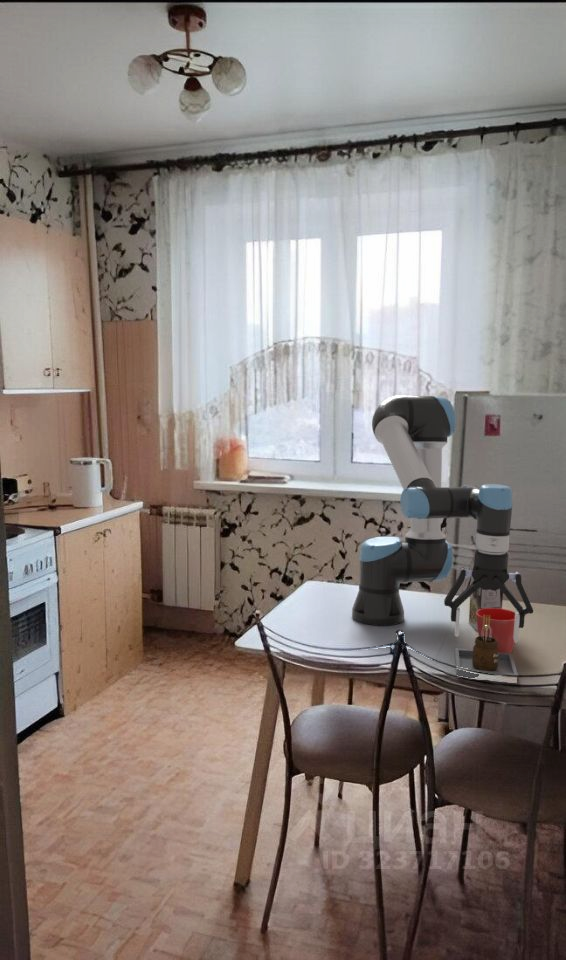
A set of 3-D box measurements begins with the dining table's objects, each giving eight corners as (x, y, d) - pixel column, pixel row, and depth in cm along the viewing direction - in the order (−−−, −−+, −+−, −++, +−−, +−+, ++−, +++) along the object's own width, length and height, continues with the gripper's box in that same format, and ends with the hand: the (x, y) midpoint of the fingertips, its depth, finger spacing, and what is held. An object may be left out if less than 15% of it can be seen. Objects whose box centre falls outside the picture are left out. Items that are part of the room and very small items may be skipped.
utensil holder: (472, 670, 164) (475, 621, 163) (471, 660, 170) (474, 613, 169) (498, 673, 163) (501, 624, 162) (496, 663, 169) (499, 615, 168)
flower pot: (470, 641, 186) (472, 606, 184) (513, 643, 185) (515, 608, 183) (477, 656, 175) (479, 619, 174) (522, 658, 174) (524, 621, 173)
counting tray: (456, 677, 162) (456, 669, 161) (454, 656, 175) (455, 648, 175) (517, 684, 159) (518, 675, 159) (511, 661, 172) (511, 653, 172)
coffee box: (501, 633, 192) (505, 576, 190) (478, 633, 192) (482, 576, 190) (489, 622, 201) (492, 568, 199) (467, 622, 201) (470, 568, 199)
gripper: (437, 550, 162) (432, 637, 165) (550, 558, 157) (543, 648, 160) (437, 543, 169) (432, 626, 172) (545, 551, 164) (538, 636, 167)
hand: (485, 637), depth 166 cm, fingers open, 13 cm apart
